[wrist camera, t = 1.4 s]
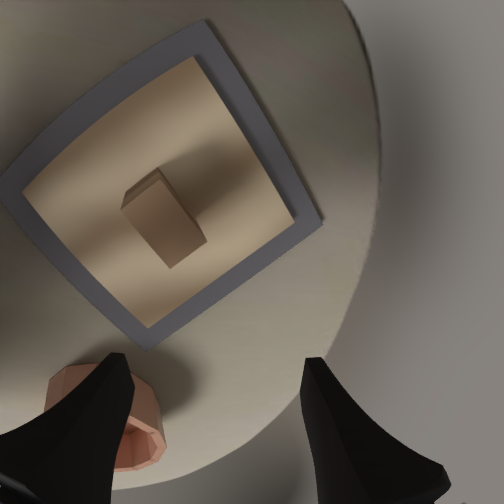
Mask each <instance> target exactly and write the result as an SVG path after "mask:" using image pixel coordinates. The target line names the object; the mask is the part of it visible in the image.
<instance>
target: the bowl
mask: <svg viewBox="0 0 504 504" xmlns="http://www.w3.org/2000/svg"><path fill="white" fill-rule="evenodd" d="M98 365H99V363H92V364H83V365H74V366H66V367H65V368H64V369H63V370H61V371H60V372H59V373H57V374H56V375H55V376H54V377H52V378H51V379H50V380H49V385H48V390H47V396H46V402H45V408H44V412H46V411H47V410H48V409H50V408H51V407H53V406H54V405H55V404H57V403H58V402H59V401H60V400H62V399H63V398H64V397H65V396H66V395H67V394H68V393H70V392H71V391H72V390H73V389H74V388H75V387H76V386H77V385H79V384H80V383H81V382H82V381H83V380H84V379H85V378H86V377H87V376H88V375H89V374H90V373H91V372H92V371H93V370H94V369H95V368H96V367H97V366H98ZM130 373H131V372H130ZM131 376H132V379H133V382H134V385H135V392H134V398H133V403H132V408H131V411H130V414H129V417H128V420H127V423H126V427H125V430H124V433H123V436H122V439H121V442H120V445H119V448H118V452H117V456H116V461H115V467H114V472H123V471H134V470H139V469H142V468H144V467H146V466H149V465H151V464H153V463H156V462H158V461H159V459H160V458H161V456H162V455H163V453H164V451H165V450H166V448H167V445H166V440H165V435H164V429H163V424H162V418H161V412H160V406H159V403H158V401H157V398H156V396H155V393H154V391H153V388H152V387H151V386H150V385H148V384H147V383H145V382H144V381H142V380H141V379H140V378H138V377H137V376H135V375H134V374H133V373H131Z"/></svg>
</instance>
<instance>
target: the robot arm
mask: <svg viewBox="0 0 504 504" xmlns="http://www.w3.org/2000/svg"><path fill="white" fill-rule="evenodd" d="M134 392H135V385H134V382H133V379H132V376H131V373H130V370H129V367H128V364H127V361H126V358H125V354H122V353H113V352H111V353H110V354H109V355H108V356H107V357H106V358H105V359H104V360H103V361H102V362H101V363H100V364H99V365H98V366H97V367H96V368H95V369H94V370H93V371H92V372H91V373H90V374H89V375H88V376H87V377H86V378H85V379H84V380H83V381H82V382H81V383H80V384H79V385H77V386H76V387H75V388H74V389H73V390H72V391H71V392H70V393H68V394H67V395H66V396H65V397H64V398H63V399H62V400H60V401H59V402H58V403H57V404H55V405H54V406H53V407H51V408H50V409H48V410H47V411H46V412H44V413H43V414H41V415H39V416H38V417H36V418H34V419H33V420H31V421H29V422H28V423H26V424H24V425H22V426H20V427H18V428H16V429H14V430H12V431H9V432H7V433H5V434H2V435H0V485H1V487H0V504H111V490H112V481H113V473H114V467H115V461H116V456H117V452H118V448H119V445H120V442H121V439H122V436H123V433H124V430H125V427H126V423H127V420H128V417H129V414H130V411H131V408H132V403H133V398H134ZM300 398H301V407H302V414H303V418H304V423H305V427H306V431H307V435H308V439H309V443H310V448H311V452H312V456H313V461H314V466H315V474H316V483H317V492H318V504H434V502H435V501H436V500H437V499H438V498H440V497H441V496H442V495H443V494H445V493H446V492H447V491H448V490H449V488H450V486H451V482H450V480H449V478H448V475H447V473H446V471H445V469H444V467H443V466H442V465H441V464H439V463H436V462H434V461H432V460H430V459H428V458H426V457H424V456H422V455H420V454H418V453H417V452H415V451H413V450H412V449H410V448H408V447H407V446H405V445H404V444H402V443H401V442H400V441H398V440H397V439H395V438H394V437H392V436H391V435H390V434H389V433H387V432H386V431H385V430H384V429H382V428H381V427H380V426H379V425H378V424H377V423H376V422H375V421H373V420H372V419H371V418H370V417H369V416H368V415H367V414H366V413H365V412H364V411H363V410H362V409H361V408H360V406H359V405H358V404H357V403H356V402H355V401H354V400H353V399H352V397H351V396H350V395H349V394H348V393H347V391H346V390H345V389H344V388H343V386H342V385H341V384H340V382H339V381H338V380H337V379H336V377H335V376H334V374H333V373H332V372H331V370H330V369H329V367H328V366H327V364H326V363H325V361H324V360H323V359H322V358H321V357H314V358H306V359H305V365H304V371H303V376H302V382H301V387H300ZM462 504H466V503H462Z"/></svg>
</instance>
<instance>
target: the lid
mask: <svg viewBox="0 0 504 504" xmlns="http://www.w3.org/2000/svg"><path fill="white" fill-rule="evenodd" d="M22 193H23V195H24V196H25V197H26V199H27V200H28V201H29V202H30V204H31V205H32V206H33V208H34V209H35V210H36V211H37V213H38V214H39V215H40V216H41V218H42V219H43V220H44V221H45V222H46V224H47V225H48V226H49V227H50V228H51V230H52V231H53V232H54V233H55V234H56V236H57V237H58V238H59V239H60V240H61V241H62V242H63V244H64V245H65V246H66V247H67V248H68V249H69V250H70V251H71V253H72V254H73V255H74V256H75V257H76V258H77V259H78V260H79V261H80V262H81V264H82V265H83V266H84V267H85V268H86V269H87V270H88V271H89V272H90V273H91V274H92V275H93V276H94V277H95V278H96V279H97V280H98V281H99V282H100V283H101V284H102V285H103V286H104V287H105V288H106V289H107V290H108V291H109V292H110V293H111V294H112V295H113V296H114V297H115V298H116V299H117V300H118V301H119V302H120V303H121V304H122V305H123V306H124V307H125V308H126V309H127V310H128V311H129V312H130V313H131V314H132V315H134V316H135V317H136V318H137V319H138V320H139V321H140V322H141V323H142V324H143V325H145V326H146V327H147V328H149V327H151V326H152V325H154V324H155V323H156V322H158V321H159V320H160V319H162V318H163V317H165V316H166V315H167V314H169V313H170V312H172V311H173V310H174V309H176V308H177V307H178V306H180V305H181V304H183V303H184V302H185V301H187V300H188V299H190V298H191V297H192V296H194V295H195V294H196V293H198V292H199V291H201V290H202V289H203V288H205V287H206V286H208V285H209V284H210V283H212V282H213V281H215V280H216V279H217V278H219V277H220V276H221V275H223V274H224V273H226V272H227V271H228V270H230V269H231V268H233V267H234V266H235V265H237V264H238V263H239V262H241V261H242V260H244V259H245V258H246V257H248V256H249V255H251V254H252V253H253V252H255V251H256V250H257V249H259V248H260V247H262V246H263V245H264V244H266V243H267V242H268V241H270V240H271V239H273V238H274V237H275V236H277V235H278V234H280V233H281V232H282V231H284V230H285V229H286V228H288V227H289V226H291V225H292V224H293V223H295V222H294V220H293V218H292V217H291V215H290V213H289V211H288V209H287V208H286V206H285V204H284V202H283V201H282V199H281V197H280V195H279V194H278V192H277V190H276V188H275V187H274V185H273V183H272V182H271V180H270V178H269V176H268V175H267V173H266V171H265V170H264V168H263V166H262V165H261V163H260V161H259V160H258V158H257V156H256V155H255V153H254V151H253V150H252V148H251V146H250V145H249V143H248V141H247V140H246V138H245V136H244V135H243V133H242V132H241V130H240V128H239V127H238V125H237V123H236V122H235V120H234V119H233V117H232V116H231V114H230V112H229V111H228V109H227V108H226V106H225V104H224V103H223V101H222V100H221V98H220V97H219V95H218V94H217V92H216V90H215V89H214V87H213V86H212V84H211V83H210V81H209V80H208V78H207V77H206V75H205V74H204V72H203V71H202V69H201V68H200V66H199V65H198V63H197V62H196V60H195V59H194V57H193V56H192V57H190V58H188V59H187V60H185V61H183V62H182V63H180V64H178V65H176V66H175V67H173V68H172V69H170V70H168V71H167V72H165V73H163V74H162V75H160V76H159V77H157V78H156V79H154V80H153V81H151V82H150V83H148V84H147V85H145V86H144V87H142V88H141V89H139V90H138V91H136V92H135V93H133V94H132V95H131V96H129V97H128V98H126V99H125V100H124V101H122V102H121V103H120V104H118V105H117V106H116V107H114V108H113V109H112V110H110V111H109V112H108V113H107V114H105V115H104V116H103V117H101V118H100V119H99V120H98V121H96V122H95V123H94V124H93V125H92V126H90V127H89V128H88V129H87V130H86V131H84V132H83V133H82V134H81V135H80V136H79V137H77V138H76V139H75V140H74V141H73V142H72V143H71V144H70V145H68V146H67V147H66V148H65V149H64V150H63V151H62V152H61V153H60V154H59V155H58V156H57V157H56V158H55V159H53V160H52V161H51V162H50V163H49V164H48V165H47V166H46V167H45V168H44V169H43V170H42V171H41V172H40V173H39V174H38V175H37V176H36V178H35V179H34V180H33V181H32V182H31V183H30V184H29V185H28V186H27V187H26V188H25V189H24V190H23V191H22Z"/></svg>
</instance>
